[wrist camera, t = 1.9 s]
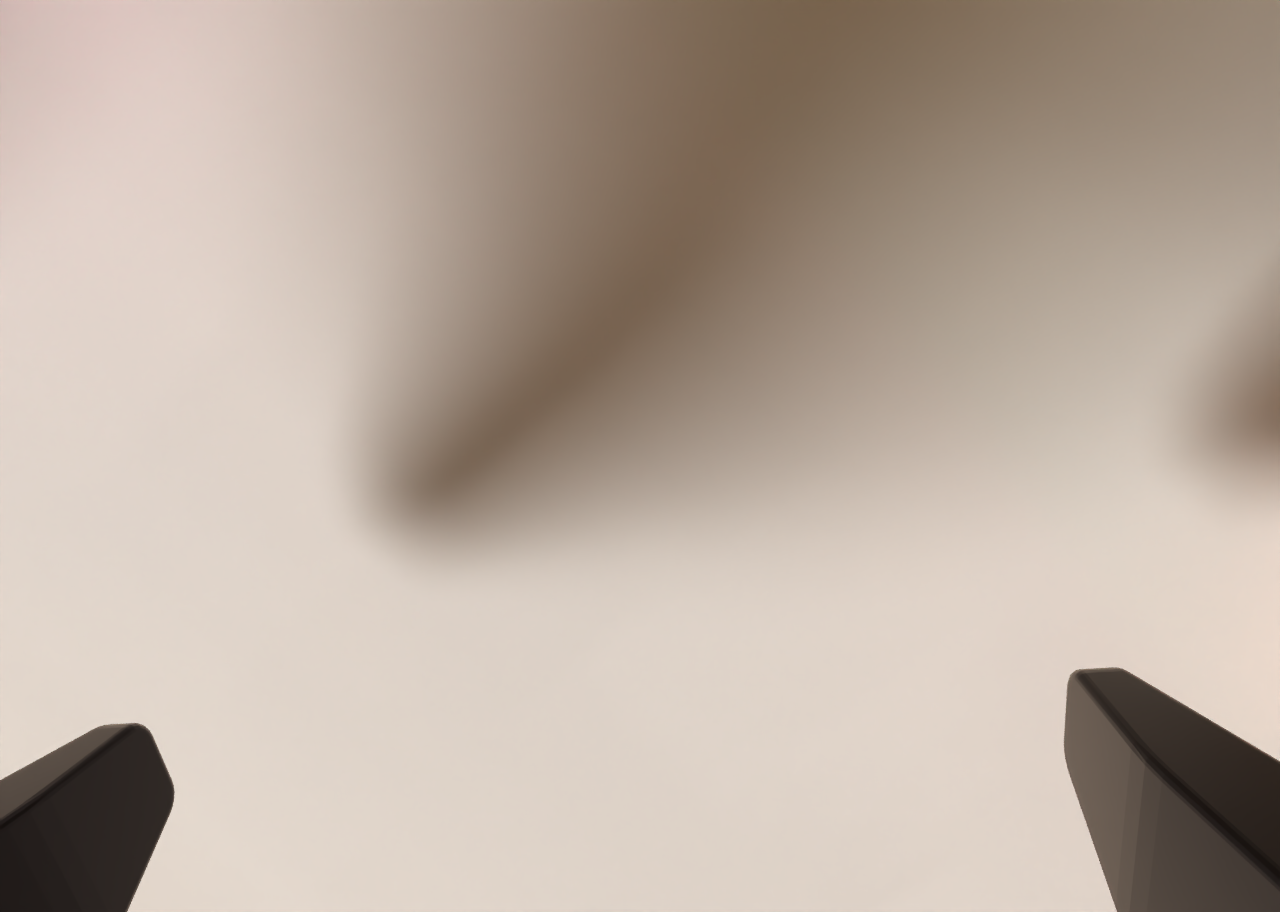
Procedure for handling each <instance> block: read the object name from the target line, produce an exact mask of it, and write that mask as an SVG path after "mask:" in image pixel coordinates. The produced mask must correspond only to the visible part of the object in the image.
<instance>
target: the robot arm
mask: <svg viewBox="0 0 1280 912" xmlns="http://www.w3.org/2000/svg"><path fill="white" fill-rule="evenodd" d="M1064 752H1065V759H1066V763H1067V768H1068V771H1069V774H1070V777H1071V780H1072V783H1073V786H1074V789H1075V792H1076V794H1077V797H1078V800H1079V803H1080V806H1081V809H1082V812H1083V815H1084V818H1085V820H1086V823H1087V826H1088V829H1089V832H1090V835H1091V838H1092V841H1093V844H1094V846H1095V849H1096V852H1097V855H1098V858H1099V861H1100V864H1101V867H1102V870H1103V872H1104V875H1105V878H1106V881H1107V884H1108V887H1109V890H1110V893H1111V896H1112V898H1113V901H1114V904H1115V907H1116V910H1117V912H1280V761H1278V760H1277V759H1275V758H1273V757H1272V756H1270V755H1268V754H1267V753H1265V752H1263V751H1261V750H1260V749H1258V748H1256V747H1255V746H1253V745H1251V744H1250V743H1248V742H1246V741H1245V740H1243V739H1241V738H1240V737H1238V736H1236V735H1234V734H1233V733H1231V732H1229V731H1228V730H1226V729H1224V728H1223V727H1221V726H1219V725H1218V724H1216V723H1214V722H1212V721H1211V720H1209V719H1207V718H1206V717H1204V716H1202V715H1201V714H1199V713H1197V712H1196V711H1194V710H1192V709H1191V708H1189V707H1187V706H1185V705H1184V704H1182V703H1180V702H1179V701H1177V700H1175V699H1174V698H1172V697H1170V696H1169V695H1167V694H1165V693H1163V692H1162V691H1160V690H1158V689H1157V688H1155V687H1153V686H1152V685H1150V684H1148V683H1147V682H1145V681H1143V680H1142V679H1140V678H1138V677H1136V676H1135V675H1133V674H1131V673H1130V672H1128V671H1126V670H1124V669H1121V668H1096V669H1079V670H1076V671H1075V672H1073V673H1072V674H1071V675H1070V678H1069V681H1068V685H1067V700H1066V716H1065V733H1064ZM173 802H174V785H173V782H172V779H171V777H170V775H169V772H168V770H167V768H166V766H165V763H164V761H163V759H162V756H161V754H160V752H159V749H158V747H157V745H156V743H155V740H154V738H153V736H152V734H151V732H150V731H149V730H148V729H147V728H146V727H145V726H144V725H141V724H138V723H128V724H110V725H104V726H100V727H97V728H95V729H93V730H91V731H89V732H88V733H86V734H84V735H82V736H80V737H79V738H77V739H75V740H73V741H71V742H69V743H68V744H66V745H64V746H62V747H60V748H58V749H57V750H55V751H53V752H51V753H49V754H47V755H46V756H44V757H42V758H40V759H38V760H36V761H35V762H33V763H31V764H29V765H27V766H25V767H24V768H22V769H20V770H18V771H16V772H15V773H13V774H11V775H9V776H7V777H5V778H4V779H2V780H0V912H127V911H128V908H129V906H130V904H131V902H132V899H133V897H134V895H135V892H136V890H137V888H138V886H139V883H140V881H141V879H142V876H143V874H144V872H145V870H146V867H147V865H148V863H149V860H150V858H151V856H152V854H153V851H154V849H155V847H156V844H157V842H158V840H159V838H160V835H161V833H162V831H163V828H164V826H165V824H166V822H167V819H168V817H169V815H170V812H171V810H172V807H173Z"/></svg>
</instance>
